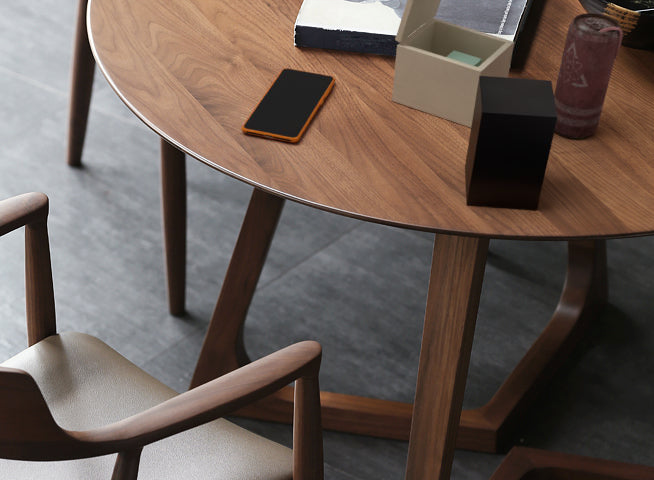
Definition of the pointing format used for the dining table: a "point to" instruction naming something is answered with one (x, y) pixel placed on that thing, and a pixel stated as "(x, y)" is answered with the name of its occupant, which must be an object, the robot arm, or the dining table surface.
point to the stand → (509, 142)
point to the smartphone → (289, 105)
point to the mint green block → (465, 58)
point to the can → (585, 73)
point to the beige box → (446, 69)
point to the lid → (416, 16)
